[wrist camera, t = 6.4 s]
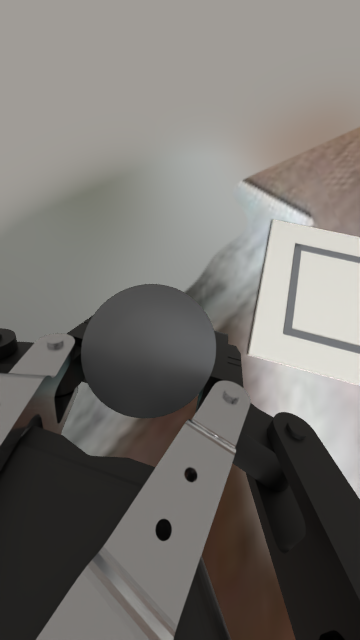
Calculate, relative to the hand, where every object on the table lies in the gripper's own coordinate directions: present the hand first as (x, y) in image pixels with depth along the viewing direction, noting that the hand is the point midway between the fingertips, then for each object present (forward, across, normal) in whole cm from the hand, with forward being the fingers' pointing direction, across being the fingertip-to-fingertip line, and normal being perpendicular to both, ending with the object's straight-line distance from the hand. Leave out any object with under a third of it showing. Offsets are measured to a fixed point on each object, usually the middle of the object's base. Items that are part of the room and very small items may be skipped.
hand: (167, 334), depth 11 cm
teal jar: (+2, 0, +4) cm, 4 cm away
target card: (+11, -13, -2) cm, 17 cm away
